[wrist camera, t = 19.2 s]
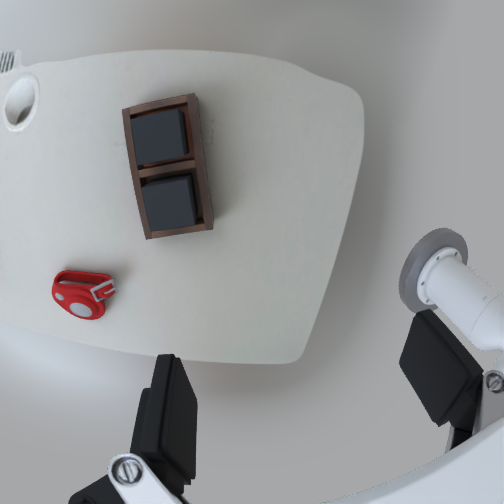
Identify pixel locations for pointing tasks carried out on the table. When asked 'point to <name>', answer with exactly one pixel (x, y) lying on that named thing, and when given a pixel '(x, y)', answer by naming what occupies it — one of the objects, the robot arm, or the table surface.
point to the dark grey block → (160, 136)
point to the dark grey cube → (170, 202)
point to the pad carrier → (172, 163)
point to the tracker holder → (83, 293)
